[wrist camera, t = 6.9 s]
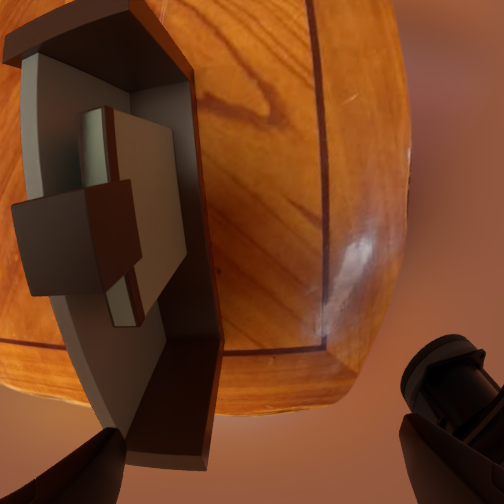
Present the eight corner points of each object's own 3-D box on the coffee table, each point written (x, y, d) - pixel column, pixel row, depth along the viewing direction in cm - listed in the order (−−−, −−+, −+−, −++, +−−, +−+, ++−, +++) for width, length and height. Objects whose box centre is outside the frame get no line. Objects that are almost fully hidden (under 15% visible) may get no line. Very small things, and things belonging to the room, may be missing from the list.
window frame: (193, 69, 17) (130, -20, 6) (225, 342, 22) (206, 471, 11) (117, 85, 17) (4, 35, 6) (157, 344, 22) (104, 461, 11)
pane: (184, 126, 16) (77, 79, 5) (199, 253, 18) (132, 380, 7) (143, 133, 16) (2, 111, 5) (159, 256, 18) (59, 374, 7)
